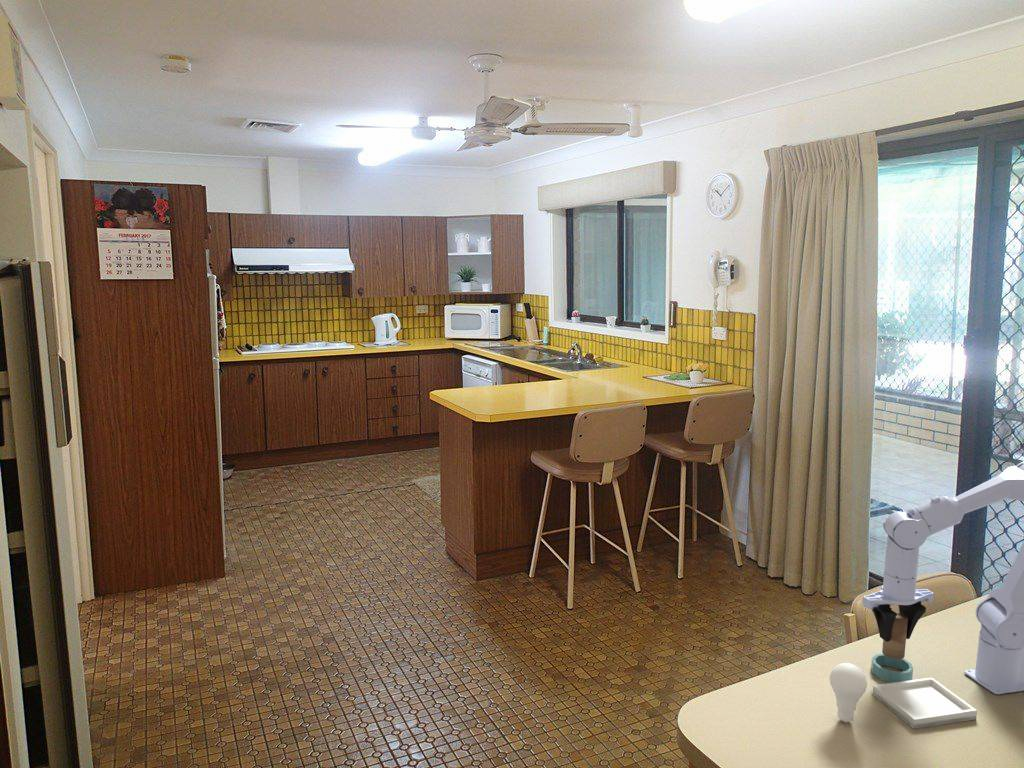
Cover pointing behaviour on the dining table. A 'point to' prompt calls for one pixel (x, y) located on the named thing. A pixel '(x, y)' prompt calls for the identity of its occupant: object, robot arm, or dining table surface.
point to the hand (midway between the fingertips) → (894, 637)
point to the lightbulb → (847, 688)
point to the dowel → (897, 638)
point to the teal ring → (888, 674)
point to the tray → (924, 703)
